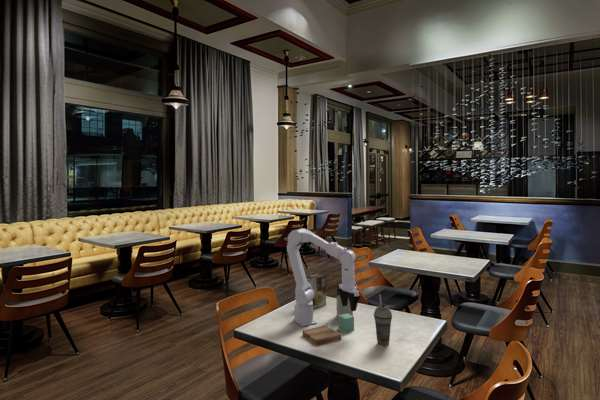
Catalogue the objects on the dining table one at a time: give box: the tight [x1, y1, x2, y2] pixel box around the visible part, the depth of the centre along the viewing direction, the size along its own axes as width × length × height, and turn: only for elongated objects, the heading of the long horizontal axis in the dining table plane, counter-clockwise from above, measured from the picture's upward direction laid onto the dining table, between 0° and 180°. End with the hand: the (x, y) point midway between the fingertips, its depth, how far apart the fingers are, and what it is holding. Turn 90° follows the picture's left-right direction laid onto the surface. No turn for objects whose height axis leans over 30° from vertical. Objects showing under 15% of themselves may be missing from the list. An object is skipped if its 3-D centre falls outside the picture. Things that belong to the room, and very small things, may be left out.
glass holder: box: [335, 284, 354, 319], centre depth 180 cm, size 9×14×15 cm, turn 167°
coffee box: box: [306, 273, 327, 309], centre depth 195 cm, size 9×6×16 cm
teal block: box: [337, 313, 355, 333], centre depth 162 cm, size 5×5×6 cm
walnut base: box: [302, 324, 343, 346], centre depth 154 cm, size 12×12×2 cm
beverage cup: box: [373, 293, 393, 347], centre depth 146 cm, size 7×7×20 cm
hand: (349, 308), depth 161 cm, fingers open, 7 cm apart
